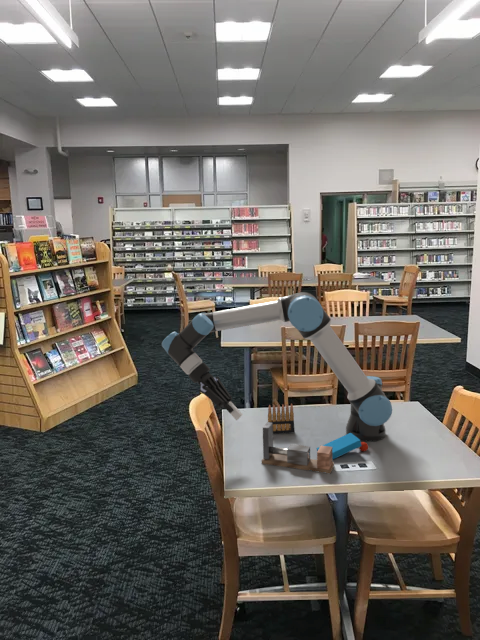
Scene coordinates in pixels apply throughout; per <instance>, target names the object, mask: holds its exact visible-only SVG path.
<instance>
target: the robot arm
mask: <svg viewBox="0 0 480 640" xmlns="http://www.w3.org/2000/svg"><path fill="white" fill-rule="evenodd" d="M277 321H281V322H284V323H288V322H290V324H291V325H292V326H293V327H294V328H295V329H296V330H297V331H298V332H299V334H300V335H301V337H302V338H303V339H305V340H310V342H311V343H312V344H313V346H314V347H315V349H316V350H317V352H318V353H319V354H320V355H321V356H322V358H323V360H324V361H325V362H326V363H327V366H329V369H331V370H332V372H333V373H334V375H335V377H336V378H337V379H338V381H339V382H340V383H341V385H342V386H343V387H344V389H345V390H346V391H347V399H348V401H349V403H350V415H349V418H348V420H347V423H346V425H345V435H347V434H349V433H352V434H353V435H354V436H356V437H357V438H358V439H360V441H361V442H375V441H376V442H377V441H380V440H383V439H384V438H385V437H386V436H387V435H386V434H387V433H386V432H387V431H386V427H385V424H386V423H387V422H388V421H389V420H390V418H391V417H392V413H393V406H392V402H391V400H390V399H389V398H388V396H386V395H385V392H384V391H383V390H382V389H383V381H382V378H380V377H378V376H372V375H371V376H370V375H366V374H365V373H364V371H363V370H362V369H361V367H360V366H359V364H358V363H357V361H356V360H355V359H354V357H353V355H352V354H351V353H350V352H349V350H348V349H347V347H346V345H344V343H343V342H342V340H341V339H340V338H339V336H338V335H337V334H336V332H335V330H334V329H333V328H332V326H331V322H332V320H331V318H330V316H329V315H328V313H327V312H326V311H325V309H324V308H323V307H322V305H321V303H320V302H319V300H318V299H317V297H315V296H314V294H311V292H306V291H301V292H297V293H292V294H289V295H286V296H281V297H279V298H278V299H277V300H273V301H268V302H263V303H261V302H260V303H256V304H250V305H245V306H239V307H235V308H230V309H229V308H228V309H222V310H218V311H212V312H207V313H206V312H201V313H198V314H196V315H195V316H194V318H193V319H192V320H191V321H190V322H188V324H187V325H186V326H185V327H184V328H183V329H182V330H181V331H180V332H177V331H172V332H171V333H170V334H168V335H167V336H166V337H165V338H164V339H163V340H162V342H161V347H162V349H164V350H165V352H166V354H167V355H169V357H170V358H171V359H172V360H173V361H174V362H175V363H176V364H177V366H178V367H180V368H181V369H182V371H183V372H184V373H185V375H188V377H189V378H190V380H191V381H192V382H193V383H194V384H196V383H198V385H199V386H200V388H199V389H198V391H199V392H200V393H201V394H203V395H205V396H206V397H207V398H208V399H209V400H211V402H213V403H214V404H215V405H216V406H217V407H219V408H220V409H223V408H225V410H226V411H227V412H228V413H229V414H230V416H232V417H233V418H234V419H235V421H238V420H239V419H240V418H241V417H242V416H244V414H243V413H242V412H241V411H240V409H239V408H237V407H236V405H235V404H234V403H233V402H232V400H233V397H232V395H231V394H230V393H229V391H228V389H227V388H226V387H225V385H224V384H223V382H222V381H221V379H220V376H216V377H215V376H213V375H212V373H210V370H211V369H210V367H209V366H208V365H207V364H206V363H205V362H203V359H202V358H201V357H199V355H198V354H197V353H196V352H195V351H194V350H193V349H194V348H195V347H196V346H197V345H198V344H199V343H200V342H201V341H202V340H203V339H204V338H206V336H207V335H209V334H210V333H214V332H215V333H216V332H218V331H225V330H229V329H230V330H231V329H236V328H241V327H242V328H243V327H248V326H255V325H259V324H267V323H271V322H277Z"/></svg>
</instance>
